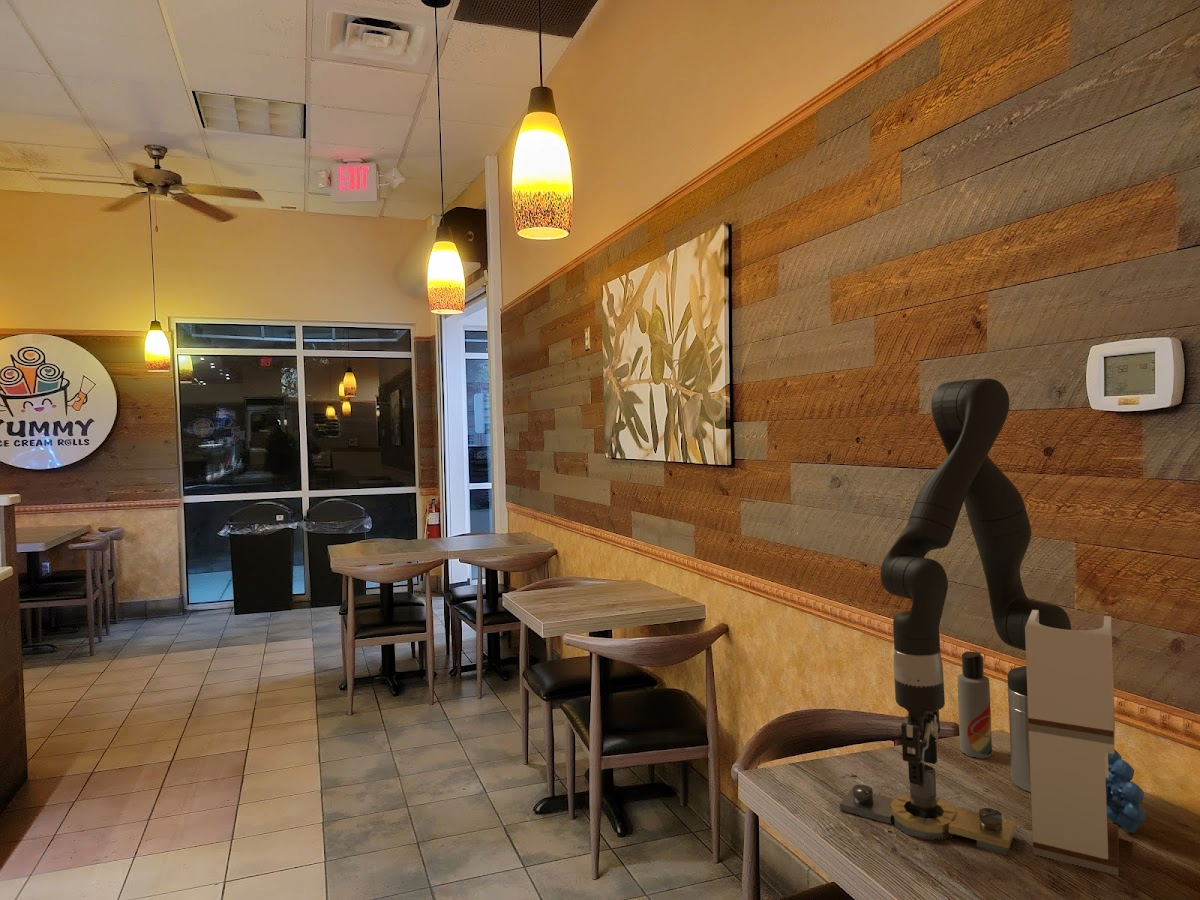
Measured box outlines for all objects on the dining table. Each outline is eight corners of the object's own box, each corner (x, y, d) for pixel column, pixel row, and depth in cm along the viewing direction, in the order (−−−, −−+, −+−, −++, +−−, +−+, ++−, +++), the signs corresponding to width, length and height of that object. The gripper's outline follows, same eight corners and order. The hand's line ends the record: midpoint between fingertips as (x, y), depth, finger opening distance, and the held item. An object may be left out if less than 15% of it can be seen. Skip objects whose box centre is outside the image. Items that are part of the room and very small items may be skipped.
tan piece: (855, 790, 136) (854, 766, 135) (1017, 831, 120) (1016, 804, 120) (836, 815, 128) (835, 790, 127) (1007, 862, 112) (1006, 833, 112)
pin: (914, 814, 127) (912, 762, 126) (940, 820, 124) (937, 767, 124) (908, 825, 123) (906, 771, 123) (934, 831, 121) (931, 777, 121)
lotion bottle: (996, 759, 145) (992, 657, 144) (964, 758, 146) (960, 657, 145) (987, 746, 150) (983, 648, 150) (956, 746, 151) (952, 648, 151)
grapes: (1068, 806, 127) (1066, 736, 126) (1109, 804, 126) (1107, 735, 126) (1113, 844, 115) (1111, 768, 115) (1158, 843, 115) (1156, 766, 114)
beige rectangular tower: (1118, 875, 107) (1110, 635, 106) (1033, 854, 113) (1024, 627, 112) (1118, 837, 117) (1111, 616, 116) (1040, 820, 123) (1032, 609, 122)
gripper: (932, 694, 115) (937, 797, 116) (952, 666, 126) (957, 760, 127) (882, 686, 120) (888, 785, 120) (906, 660, 131) (911, 751, 132)
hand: (923, 772), depth 124 cm, fingers open, 8 cm apart
